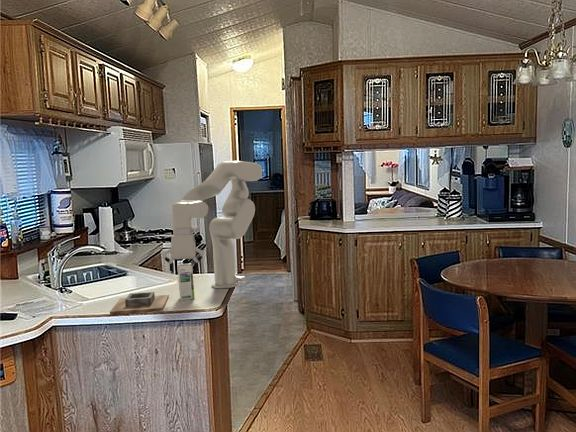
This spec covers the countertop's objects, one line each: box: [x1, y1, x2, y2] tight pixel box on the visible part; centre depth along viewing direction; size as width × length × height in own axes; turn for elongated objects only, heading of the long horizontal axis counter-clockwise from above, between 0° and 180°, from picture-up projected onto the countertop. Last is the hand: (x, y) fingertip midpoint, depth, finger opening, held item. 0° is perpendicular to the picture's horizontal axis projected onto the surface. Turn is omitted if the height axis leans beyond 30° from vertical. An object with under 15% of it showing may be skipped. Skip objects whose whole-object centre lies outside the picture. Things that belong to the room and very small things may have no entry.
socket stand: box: [109, 291, 170, 316], centre depth 212 cm, size 20×20×4 cm
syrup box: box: [177, 262, 195, 301], centre depth 220 cm, size 6×6×14 cm
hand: (184, 272), depth 219 cm, fingers open, 9 cm apart
